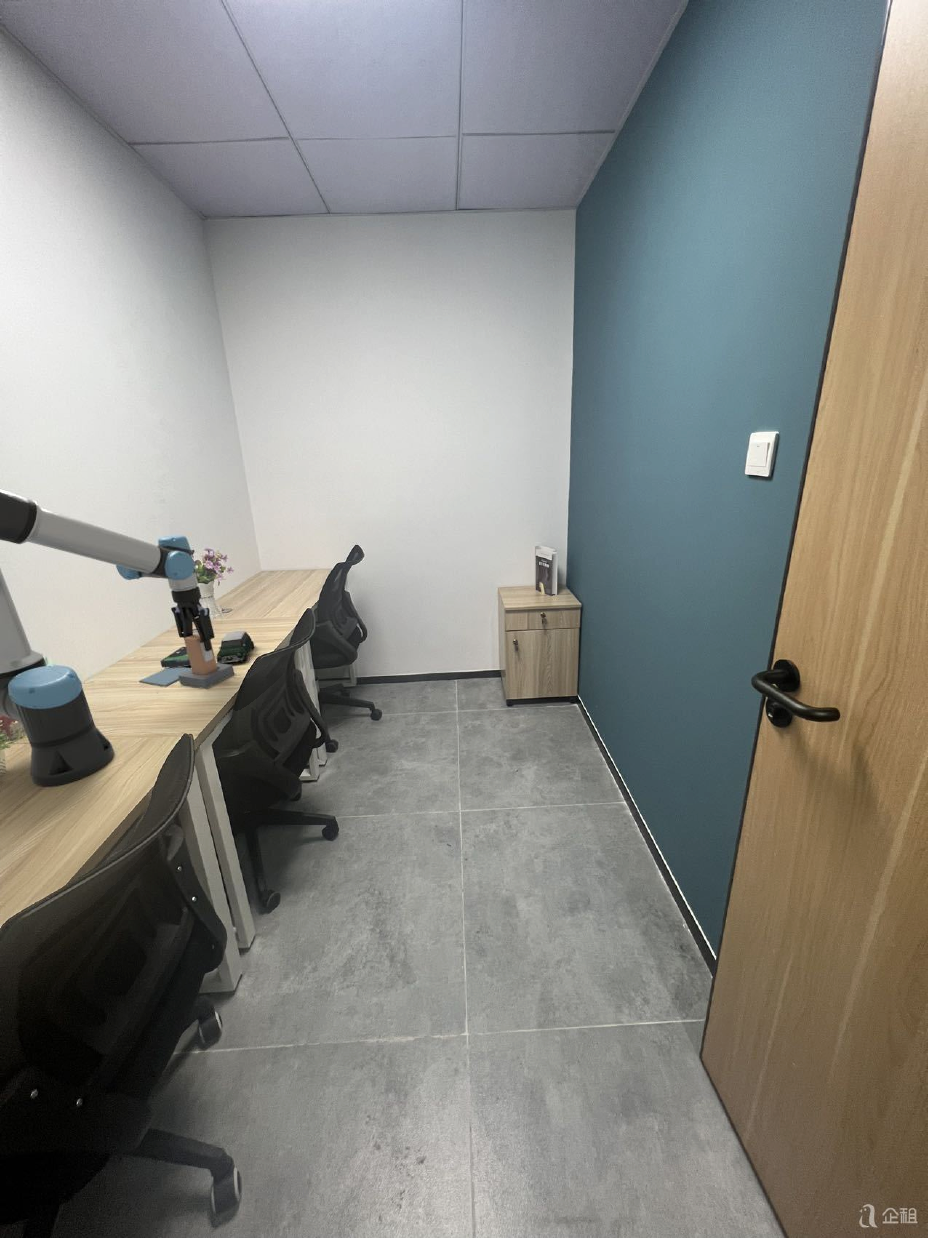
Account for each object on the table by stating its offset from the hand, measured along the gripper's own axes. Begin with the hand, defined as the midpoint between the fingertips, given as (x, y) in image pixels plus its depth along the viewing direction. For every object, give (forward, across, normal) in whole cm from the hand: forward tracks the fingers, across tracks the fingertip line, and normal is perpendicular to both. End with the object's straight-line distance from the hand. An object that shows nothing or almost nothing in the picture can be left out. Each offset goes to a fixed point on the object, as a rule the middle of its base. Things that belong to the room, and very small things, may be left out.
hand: (202, 659), depth 153 cm
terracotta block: (+5, 0, 0) cm, 5 cm away
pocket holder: (+7, 0, 0) cm, 7 cm away
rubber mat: (+7, +15, +2) cm, 17 cm away
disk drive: (+7, +21, -10) cm, 24 cm away
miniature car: (+7, +6, -18) cm, 20 cm away
